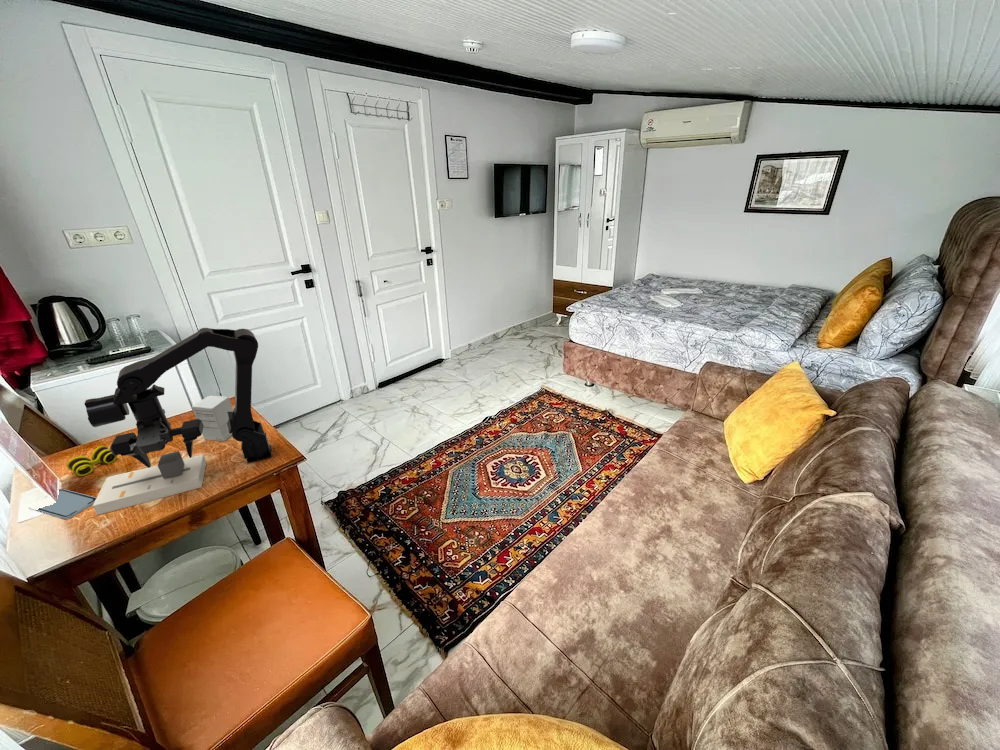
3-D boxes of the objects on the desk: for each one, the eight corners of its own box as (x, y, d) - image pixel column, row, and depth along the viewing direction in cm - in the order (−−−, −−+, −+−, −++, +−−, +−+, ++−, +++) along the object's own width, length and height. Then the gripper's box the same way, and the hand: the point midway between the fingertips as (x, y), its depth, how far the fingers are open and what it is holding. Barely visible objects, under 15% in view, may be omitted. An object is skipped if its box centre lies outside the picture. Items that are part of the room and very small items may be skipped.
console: (206, 462, 121) (203, 454, 120) (201, 487, 112) (197, 478, 110) (111, 485, 112) (107, 477, 111) (97, 514, 102) (92, 505, 101)
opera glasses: (80, 481, 115) (74, 468, 113) (69, 473, 117) (63, 460, 114) (121, 461, 123) (116, 449, 121) (110, 454, 125) (105, 441, 122)
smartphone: (60, 488, 111) (99, 498, 107) (62, 490, 111) (101, 500, 107) (26, 507, 104) (65, 518, 101) (28, 509, 105) (67, 521, 101)
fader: (184, 464, 115) (179, 451, 113) (181, 474, 111) (175, 461, 109) (167, 468, 114) (161, 455, 112) (163, 478, 110) (157, 465, 108)
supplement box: (220, 427, 138) (208, 394, 132) (240, 429, 137) (229, 396, 132) (203, 439, 132) (190, 406, 126) (224, 441, 131) (212, 408, 125)
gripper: (90, 439, 94) (118, 491, 101) (187, 419, 102) (207, 468, 108) (105, 416, 103) (130, 465, 110) (194, 399, 110) (212, 446, 117)
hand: (170, 461), depth 111 cm, fingers open, 9 cm apart
